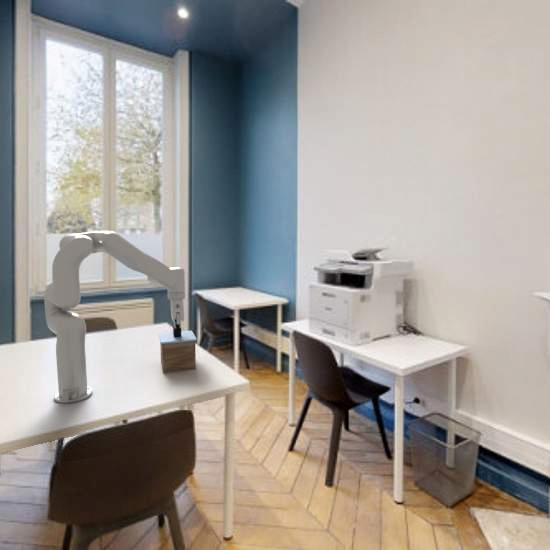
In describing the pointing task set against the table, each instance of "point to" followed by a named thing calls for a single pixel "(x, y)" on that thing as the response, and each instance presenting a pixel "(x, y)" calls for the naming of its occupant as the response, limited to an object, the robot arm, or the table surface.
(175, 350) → the walnut box
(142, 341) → the table surface
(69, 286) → the robot arm
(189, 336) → the lid
